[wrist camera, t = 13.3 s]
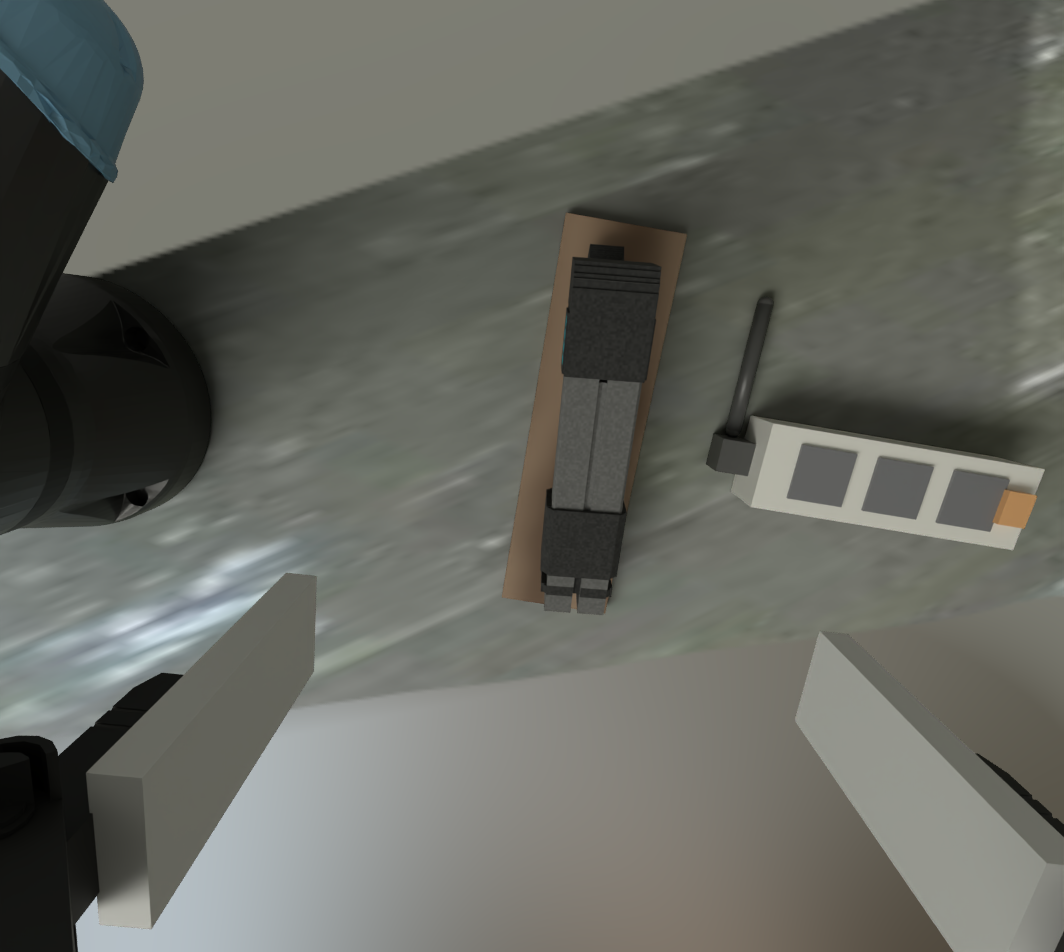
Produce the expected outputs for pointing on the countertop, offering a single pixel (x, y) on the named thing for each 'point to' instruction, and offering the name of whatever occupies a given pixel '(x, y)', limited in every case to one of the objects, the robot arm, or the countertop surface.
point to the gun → (596, 424)
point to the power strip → (868, 473)
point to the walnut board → (546, 410)
